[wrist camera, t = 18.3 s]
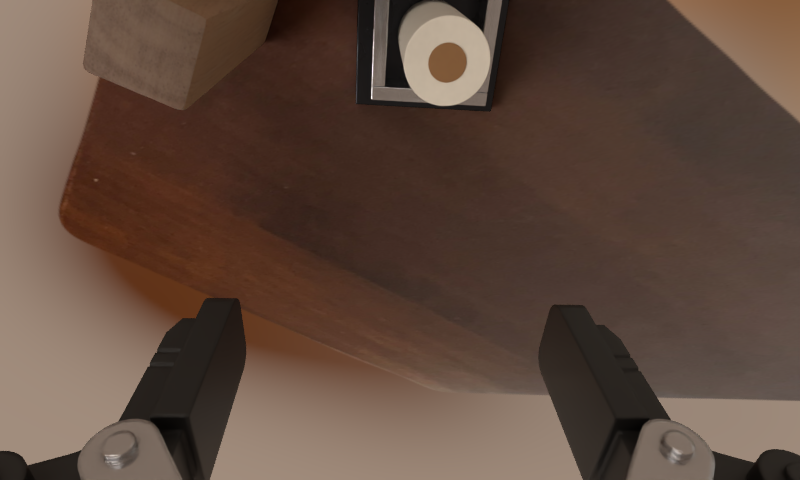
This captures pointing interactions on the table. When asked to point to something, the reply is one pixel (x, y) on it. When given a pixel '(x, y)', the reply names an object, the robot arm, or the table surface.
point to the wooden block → (173, 44)
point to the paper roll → (442, 53)
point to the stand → (382, 58)
